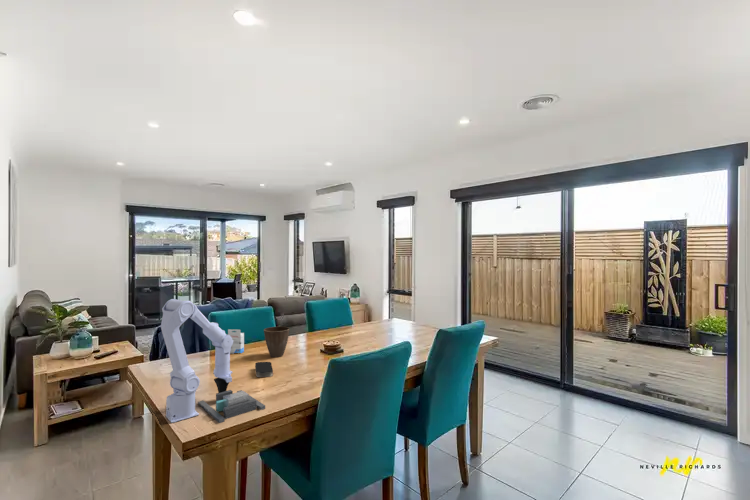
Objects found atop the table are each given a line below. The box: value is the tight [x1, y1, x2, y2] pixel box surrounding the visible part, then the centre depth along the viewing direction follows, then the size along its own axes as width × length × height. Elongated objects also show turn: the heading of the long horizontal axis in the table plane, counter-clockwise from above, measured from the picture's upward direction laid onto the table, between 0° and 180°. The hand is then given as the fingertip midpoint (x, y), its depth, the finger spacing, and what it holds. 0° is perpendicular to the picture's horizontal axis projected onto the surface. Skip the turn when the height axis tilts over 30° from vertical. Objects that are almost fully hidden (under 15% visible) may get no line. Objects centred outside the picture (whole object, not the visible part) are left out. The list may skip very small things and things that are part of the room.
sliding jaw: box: [215, 389, 233, 413], centre depth 147 cm, size 12×10×4 cm
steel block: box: [222, 390, 250, 412], centre depth 141 cm, size 8×5×6 cm, turn 134°
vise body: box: [197, 389, 266, 424], centre depth 145 cm, size 18×22×4 cm
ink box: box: [227, 328, 245, 354], centre depth 223 cm, size 8×5×15 cm, turn 85°
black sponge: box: [254, 361, 274, 378], centre depth 186 cm, size 16×8×4 cm, turn 20°
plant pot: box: [263, 326, 290, 358], centre depth 217 cm, size 15×15×16 cm
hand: (222, 395), depth 151 cm, fingers closed
